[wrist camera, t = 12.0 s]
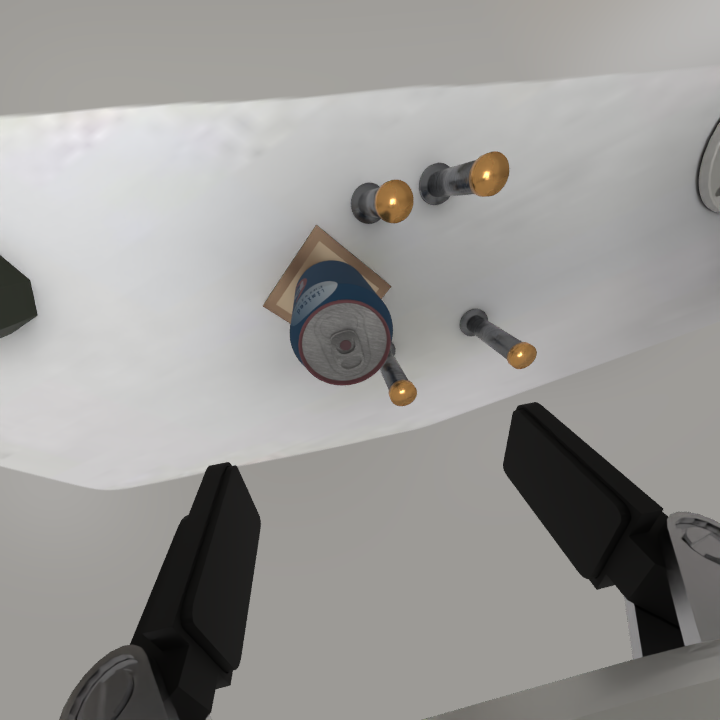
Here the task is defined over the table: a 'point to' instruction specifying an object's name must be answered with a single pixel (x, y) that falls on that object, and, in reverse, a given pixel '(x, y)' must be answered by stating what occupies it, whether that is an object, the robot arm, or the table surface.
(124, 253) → the table surface
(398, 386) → the post
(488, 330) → the post
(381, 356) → the soda can
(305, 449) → the table surface
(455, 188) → the post
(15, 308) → the wine bottle
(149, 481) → the table surface
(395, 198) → the post
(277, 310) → the walnut coaster
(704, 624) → the robot arm
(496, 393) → the table surface
